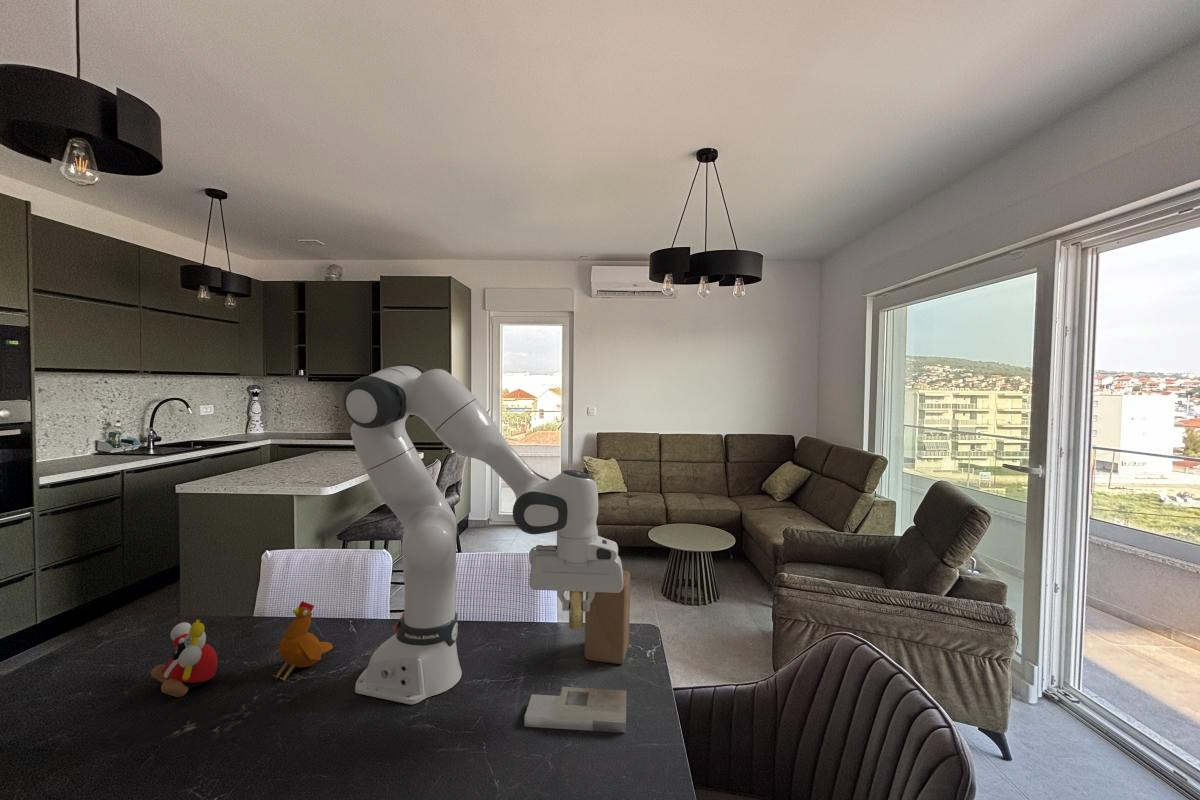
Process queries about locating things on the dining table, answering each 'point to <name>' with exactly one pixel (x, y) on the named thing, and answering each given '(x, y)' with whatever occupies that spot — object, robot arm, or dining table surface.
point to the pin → (575, 610)
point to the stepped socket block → (579, 710)
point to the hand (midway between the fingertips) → (576, 610)
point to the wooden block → (608, 625)
